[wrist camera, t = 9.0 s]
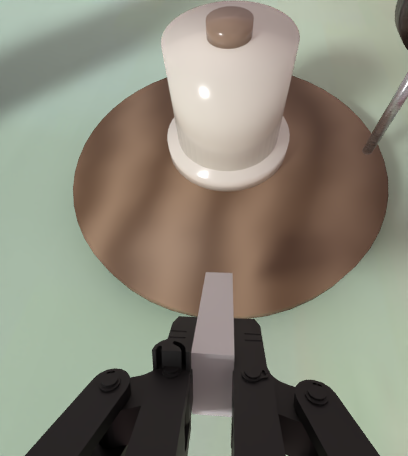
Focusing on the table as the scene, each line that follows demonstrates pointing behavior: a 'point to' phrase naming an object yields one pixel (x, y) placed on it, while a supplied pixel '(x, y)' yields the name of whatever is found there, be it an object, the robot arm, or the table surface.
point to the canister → (229, 92)
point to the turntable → (231, 207)
